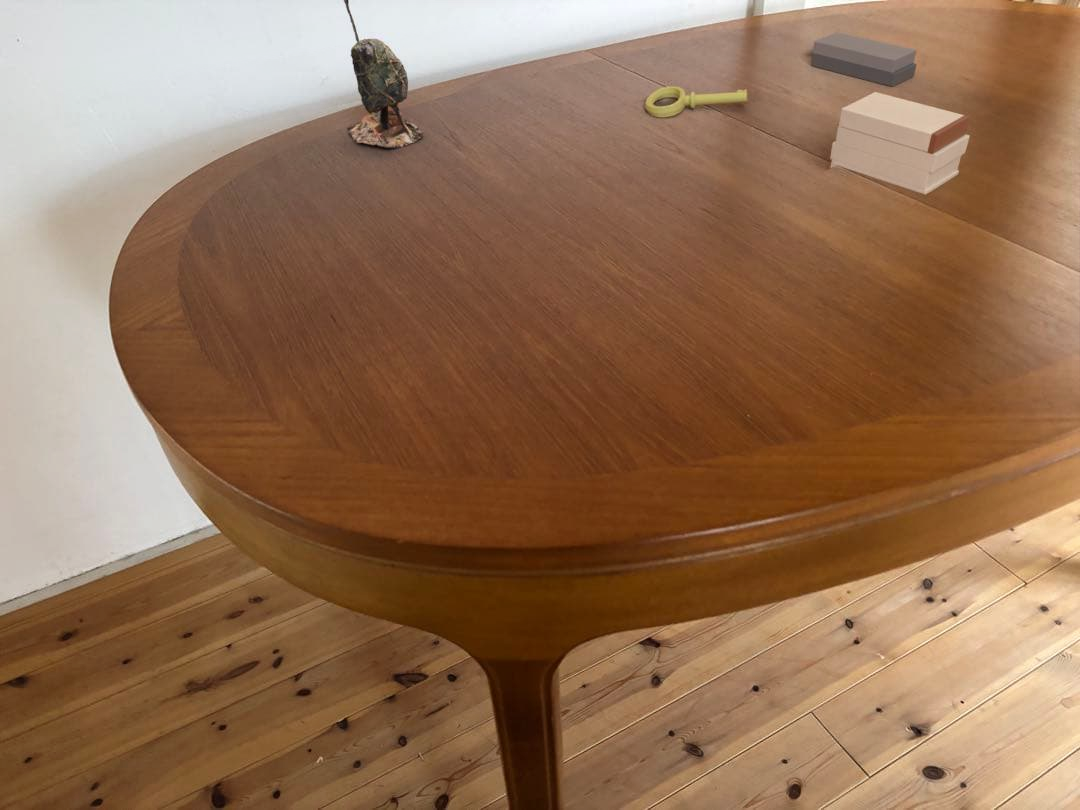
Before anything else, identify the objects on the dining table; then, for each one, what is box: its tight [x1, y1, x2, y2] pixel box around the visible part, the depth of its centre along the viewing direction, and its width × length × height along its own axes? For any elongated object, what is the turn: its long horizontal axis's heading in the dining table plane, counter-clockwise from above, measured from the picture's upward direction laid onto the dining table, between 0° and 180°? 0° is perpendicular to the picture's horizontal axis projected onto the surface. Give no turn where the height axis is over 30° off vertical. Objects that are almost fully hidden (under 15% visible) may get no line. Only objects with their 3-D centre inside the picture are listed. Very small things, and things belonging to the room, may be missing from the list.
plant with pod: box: [343, 0, 424, 149], centre depth 98 cm, size 8×11×20 cm
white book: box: [838, 91, 971, 154], centre depth 86 cm, size 10×6×2 cm, turn 42°
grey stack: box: [810, 31, 917, 87], centre depth 114 cm, size 12×5×3 cm, turn 42°
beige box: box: [829, 125, 971, 195], centre depth 88 cm, size 11×6×5 cm, turn 42°
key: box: [644, 85, 748, 118], centre depth 108 cm, size 7×12×2 cm, turn 95°
